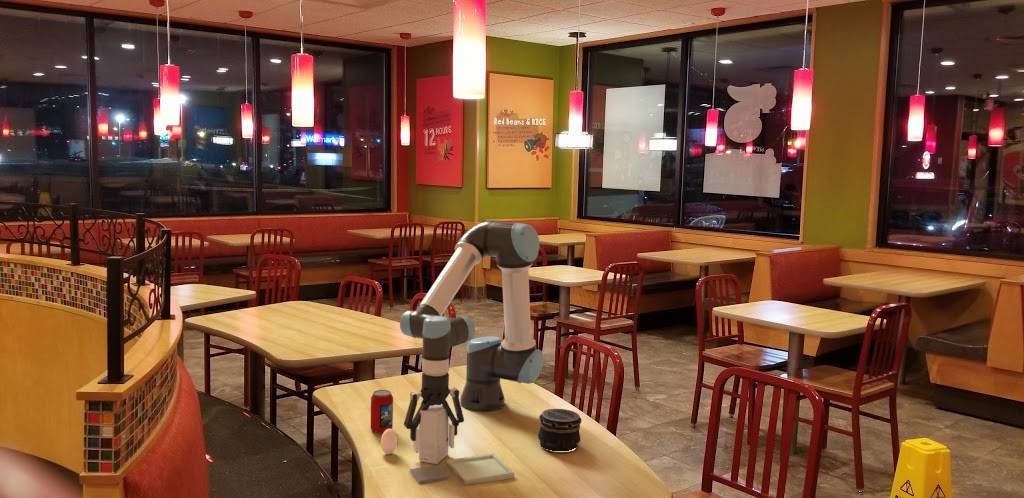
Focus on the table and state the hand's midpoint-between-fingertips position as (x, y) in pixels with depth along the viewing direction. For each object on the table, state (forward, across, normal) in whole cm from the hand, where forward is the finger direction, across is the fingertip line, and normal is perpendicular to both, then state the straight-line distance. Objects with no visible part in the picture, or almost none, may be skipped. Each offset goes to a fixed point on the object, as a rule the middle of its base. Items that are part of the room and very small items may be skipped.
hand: (433, 448), depth 224 cm
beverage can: (+3, +8, -26) cm, 27 cm away
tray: (+3, -9, +13) cm, 16 cm away
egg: (+3, +11, -7) cm, 13 cm away
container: (+3, -38, +4) cm, 38 cm away
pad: (+3, +5, +11) cm, 12 cm away
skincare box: (+3, 0, 0) cm, 3 cm away
